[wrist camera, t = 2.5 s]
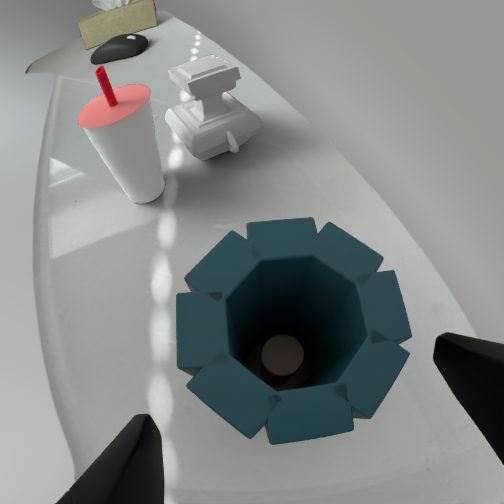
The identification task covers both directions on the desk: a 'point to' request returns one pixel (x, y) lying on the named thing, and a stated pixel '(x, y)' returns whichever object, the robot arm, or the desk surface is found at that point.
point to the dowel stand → (279, 362)
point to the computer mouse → (119, 48)
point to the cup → (125, 137)
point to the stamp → (210, 109)
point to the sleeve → (292, 328)
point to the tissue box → (116, 20)
